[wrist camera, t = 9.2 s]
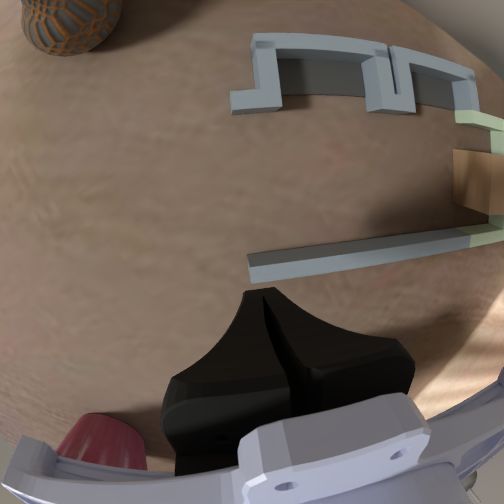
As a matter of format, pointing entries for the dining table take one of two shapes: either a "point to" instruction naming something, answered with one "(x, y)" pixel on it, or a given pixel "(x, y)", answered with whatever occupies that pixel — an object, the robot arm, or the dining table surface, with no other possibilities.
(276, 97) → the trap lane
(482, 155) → the walnut block
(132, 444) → the plant pot
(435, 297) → the dining table surface
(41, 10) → the vase
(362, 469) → the robot arm
